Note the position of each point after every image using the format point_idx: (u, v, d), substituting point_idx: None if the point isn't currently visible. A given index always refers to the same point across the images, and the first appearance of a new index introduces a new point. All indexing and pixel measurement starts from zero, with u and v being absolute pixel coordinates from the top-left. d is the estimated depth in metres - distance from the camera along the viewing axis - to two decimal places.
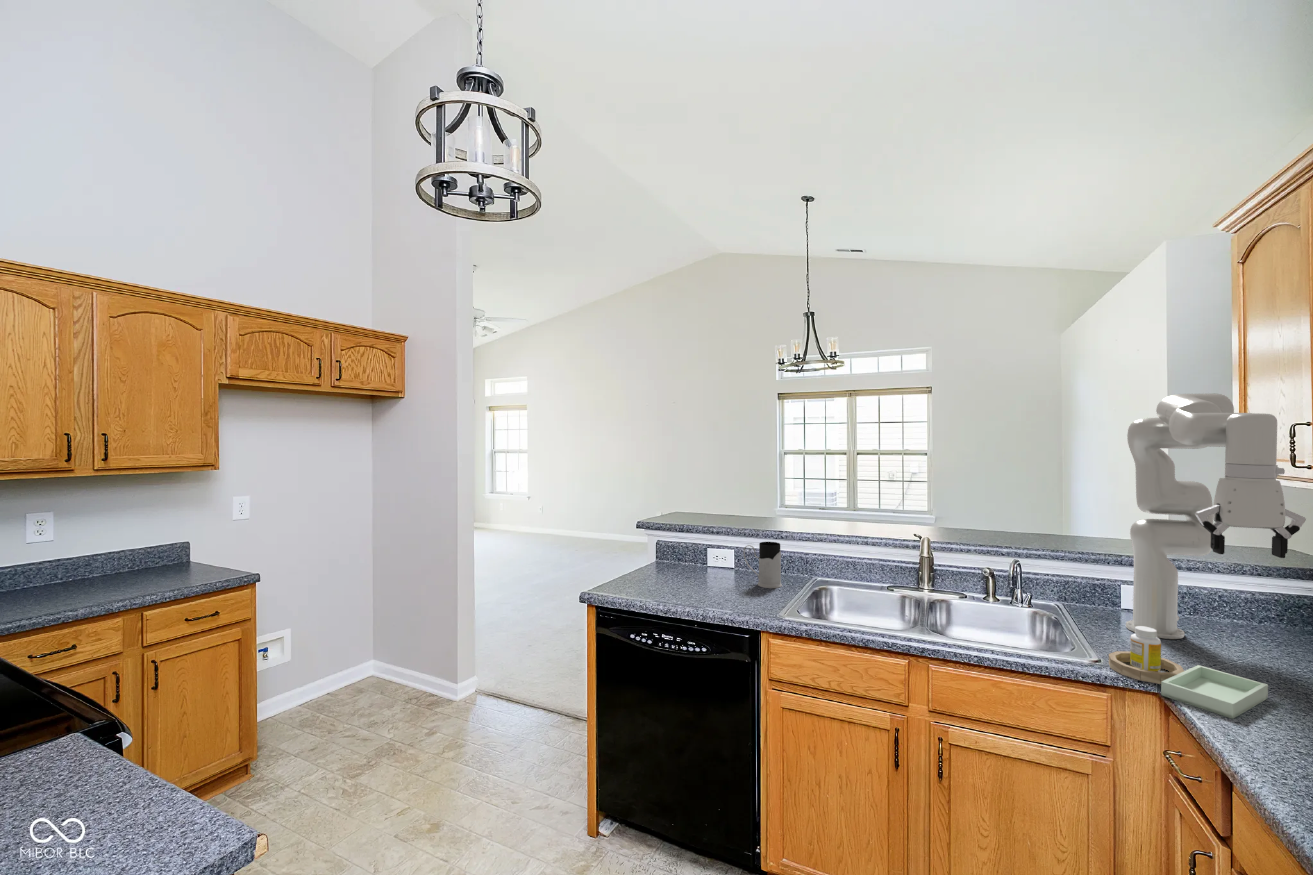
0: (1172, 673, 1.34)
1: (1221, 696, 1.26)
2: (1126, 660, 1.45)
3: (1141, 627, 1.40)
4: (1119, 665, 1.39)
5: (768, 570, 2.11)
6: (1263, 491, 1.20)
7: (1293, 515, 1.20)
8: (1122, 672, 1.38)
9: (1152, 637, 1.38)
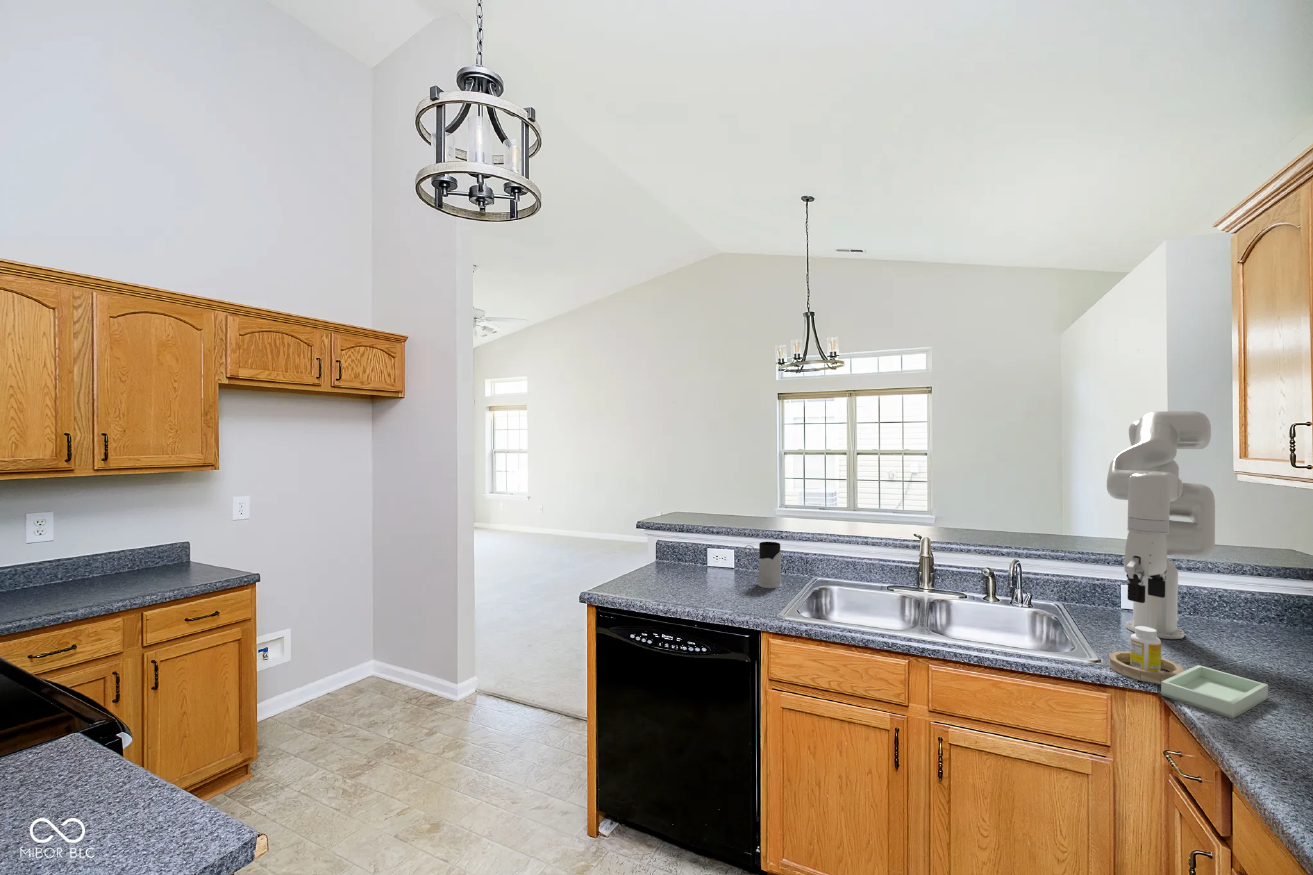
0: (1172, 673, 1.34)
1: (1221, 696, 1.26)
2: (1126, 660, 1.45)
3: (1141, 627, 1.40)
4: (1119, 665, 1.39)
5: (768, 570, 2.11)
6: (1162, 542, 1.37)
7: None
8: (1122, 672, 1.38)
9: (1152, 637, 1.38)
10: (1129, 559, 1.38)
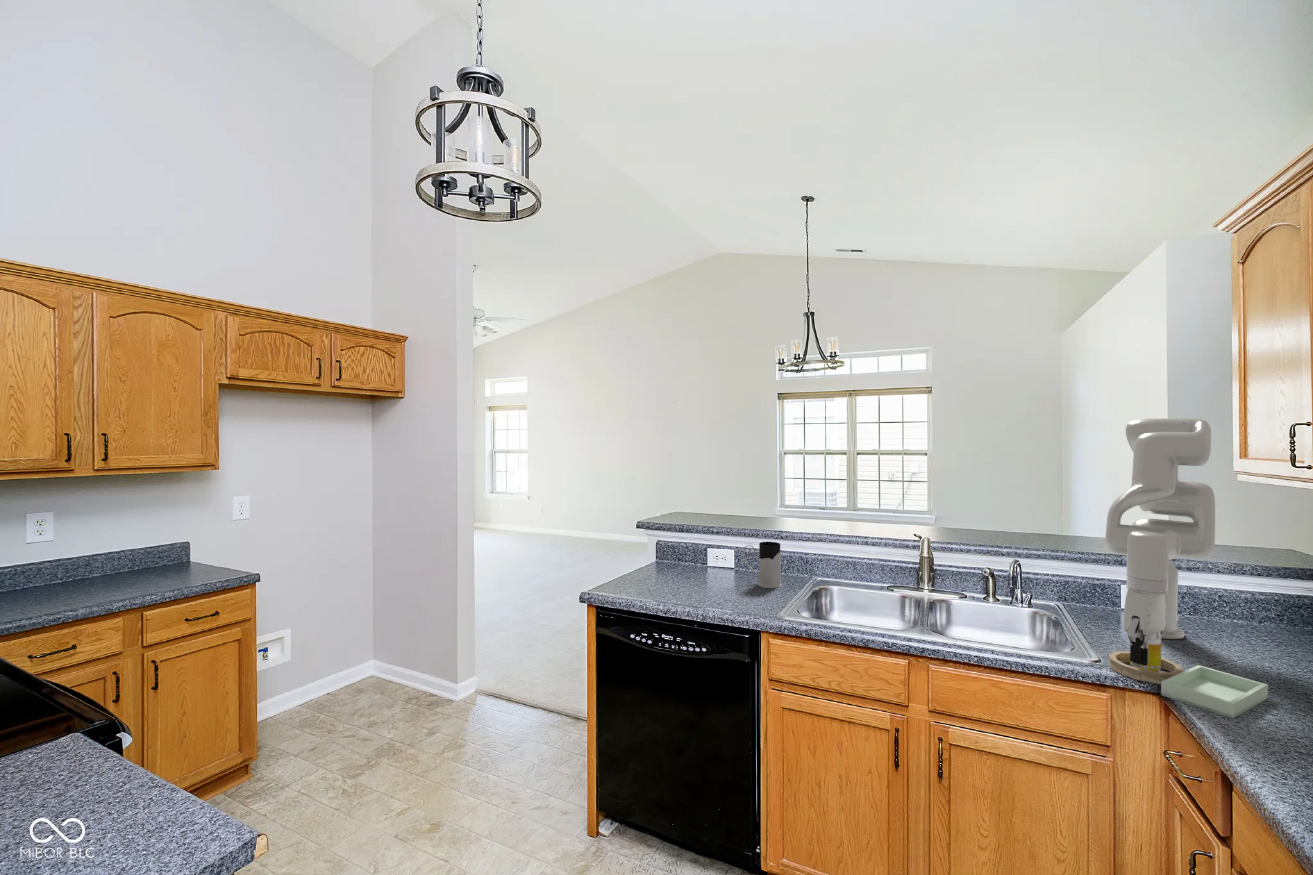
0: (1172, 673, 1.34)
1: (1221, 696, 1.26)
2: (1126, 660, 1.45)
3: None
4: (1119, 665, 1.39)
5: (768, 570, 2.11)
6: (1161, 601, 1.38)
7: None
8: (1122, 672, 1.38)
9: (1152, 637, 1.38)
10: (1128, 618, 1.38)
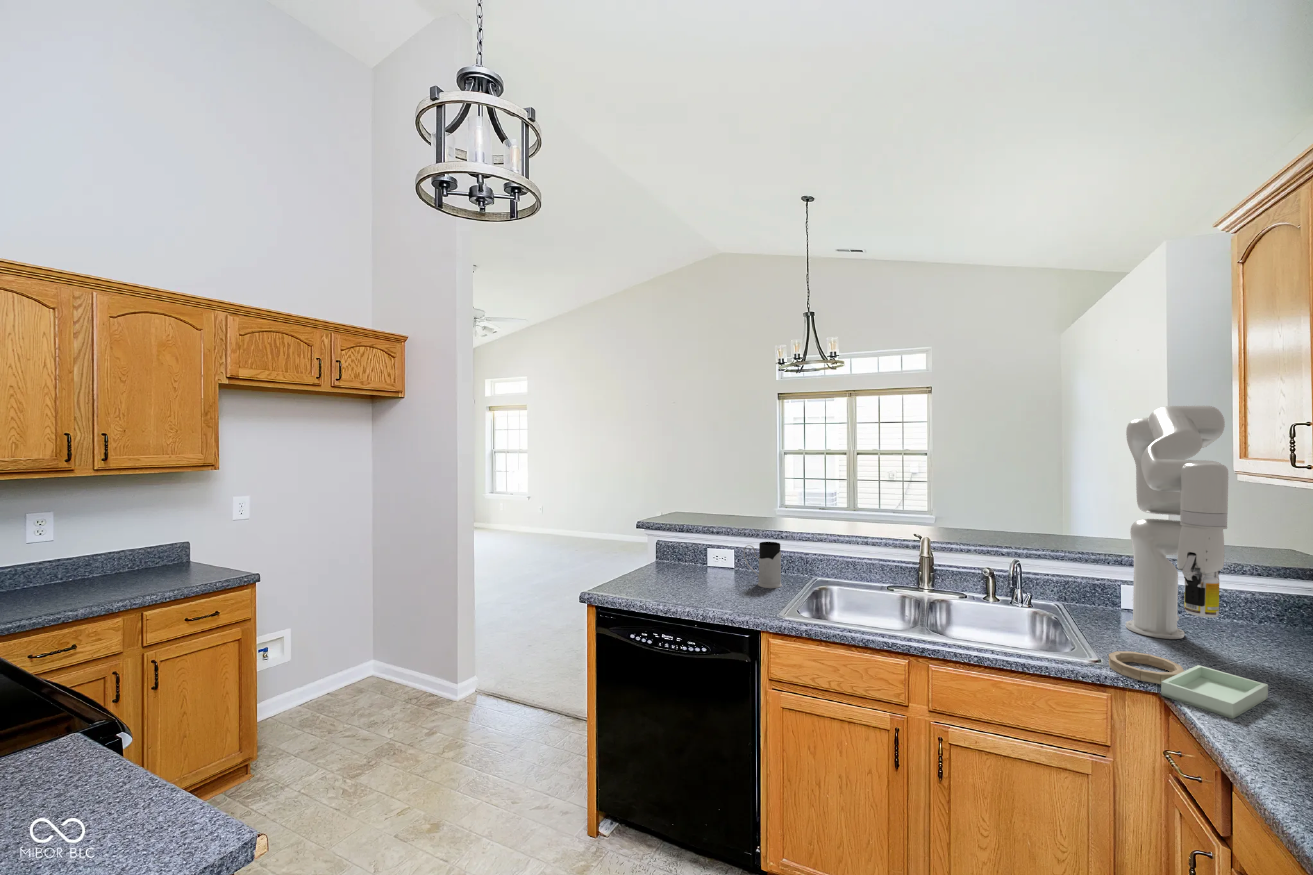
0: (1172, 673, 1.34)
1: (1221, 696, 1.26)
2: (1126, 660, 1.45)
3: None
4: (1119, 665, 1.39)
5: (768, 570, 2.11)
6: (1220, 537, 1.27)
7: None
8: (1122, 672, 1.38)
9: (1209, 576, 1.27)
10: (1183, 556, 1.28)
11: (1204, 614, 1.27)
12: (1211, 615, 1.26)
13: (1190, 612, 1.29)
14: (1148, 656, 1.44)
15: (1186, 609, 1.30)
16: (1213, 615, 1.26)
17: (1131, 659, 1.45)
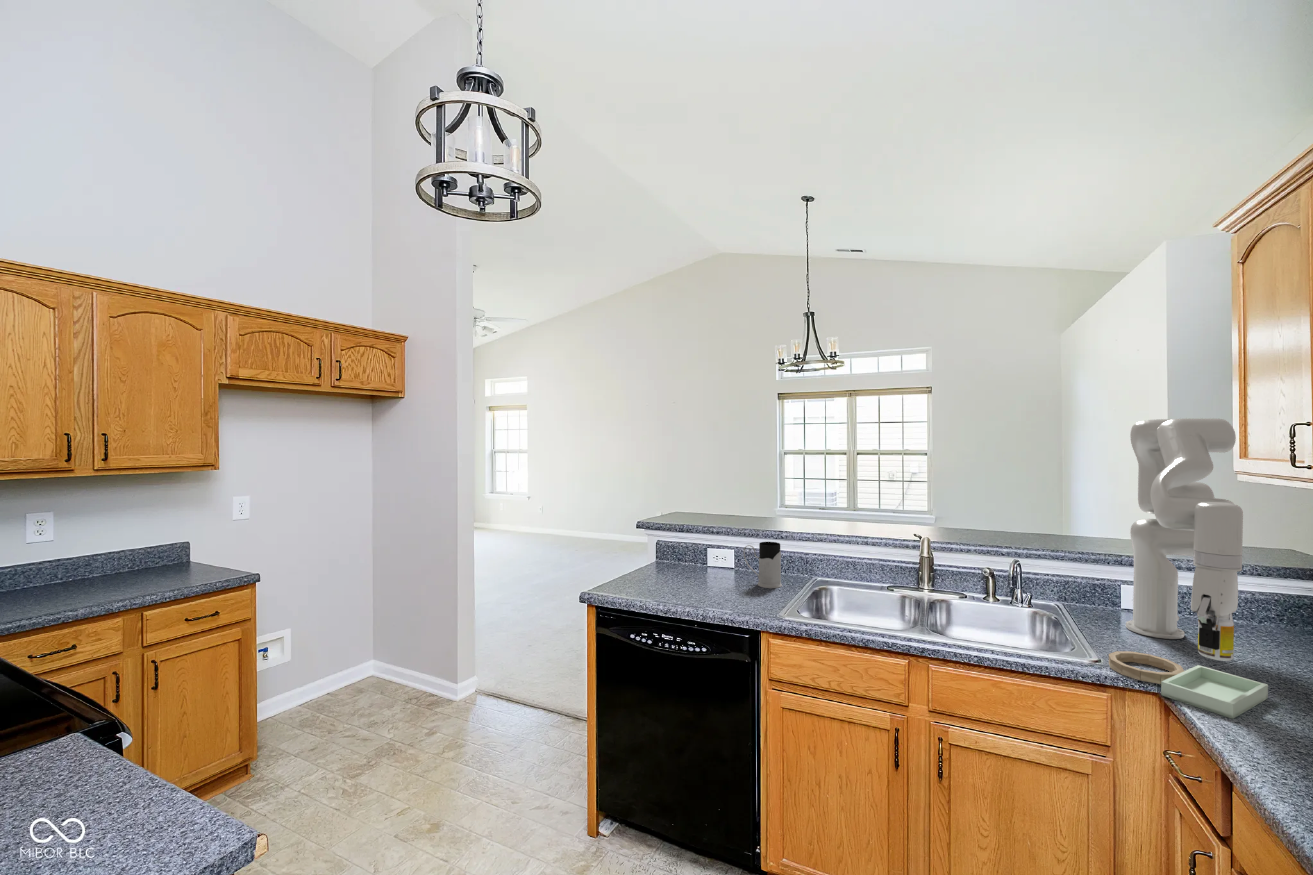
0: (1172, 673, 1.34)
1: (1221, 696, 1.26)
2: (1126, 660, 1.45)
3: None
4: (1119, 665, 1.39)
5: (768, 570, 2.11)
6: (1234, 579, 1.25)
7: None
8: (1122, 672, 1.38)
9: (1224, 618, 1.25)
10: (1197, 598, 1.25)
11: (1218, 657, 1.24)
12: (1226, 658, 1.24)
13: (1204, 655, 1.26)
14: (1148, 656, 1.44)
15: (1200, 651, 1.27)
16: (1228, 658, 1.24)
17: (1131, 659, 1.45)
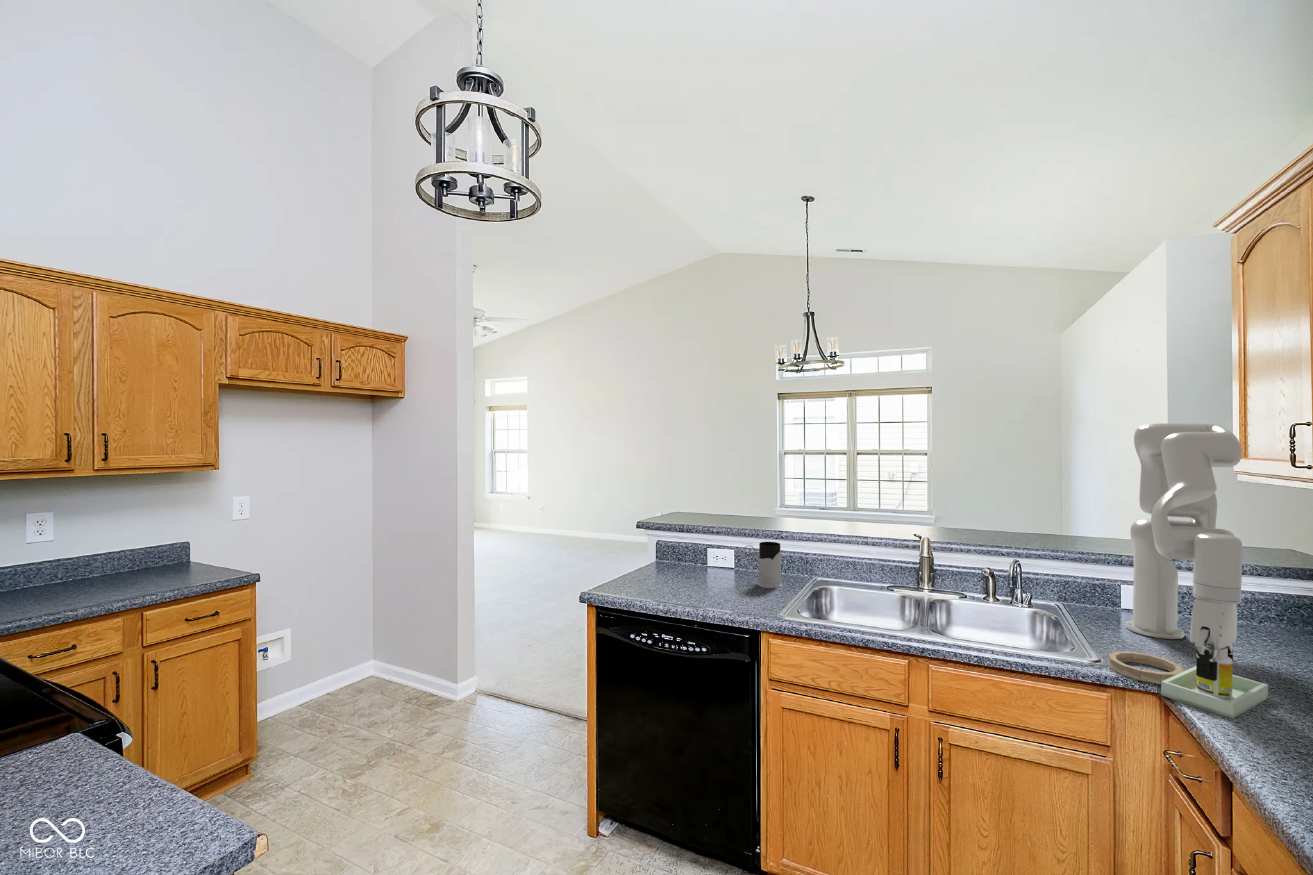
0: (1172, 673, 1.34)
1: None
2: (1126, 660, 1.45)
3: (1209, 644, 1.28)
4: (1119, 665, 1.39)
5: (768, 570, 2.11)
6: (1233, 611, 1.25)
7: None
8: (1122, 672, 1.38)
9: (1223, 656, 1.25)
10: (1196, 629, 1.25)
11: (1217, 694, 1.25)
12: (1224, 696, 1.24)
13: (1203, 692, 1.27)
14: (1148, 656, 1.44)
15: (1199, 688, 1.28)
16: (1226, 696, 1.24)
17: (1131, 659, 1.45)
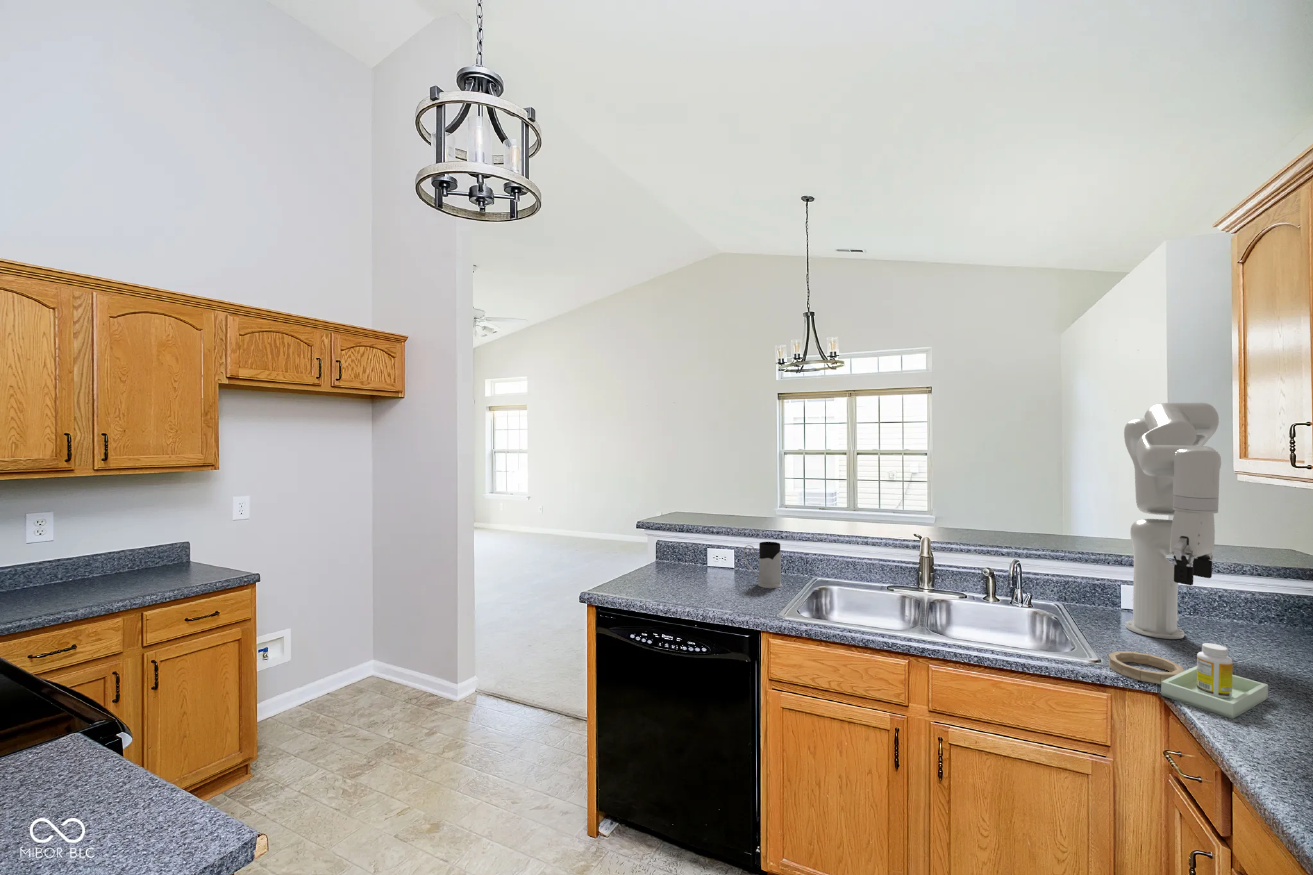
0: (1172, 673, 1.34)
1: None
2: (1126, 660, 1.45)
3: (1209, 644, 1.28)
4: (1119, 665, 1.39)
5: (768, 570, 2.11)
6: (1211, 521, 1.30)
7: None
8: (1122, 672, 1.38)
9: (1223, 656, 1.25)
10: (1176, 539, 1.31)
11: (1217, 694, 1.25)
12: (1224, 696, 1.24)
13: (1203, 692, 1.27)
14: (1148, 656, 1.44)
15: (1199, 688, 1.28)
16: (1226, 696, 1.24)
17: (1131, 659, 1.45)
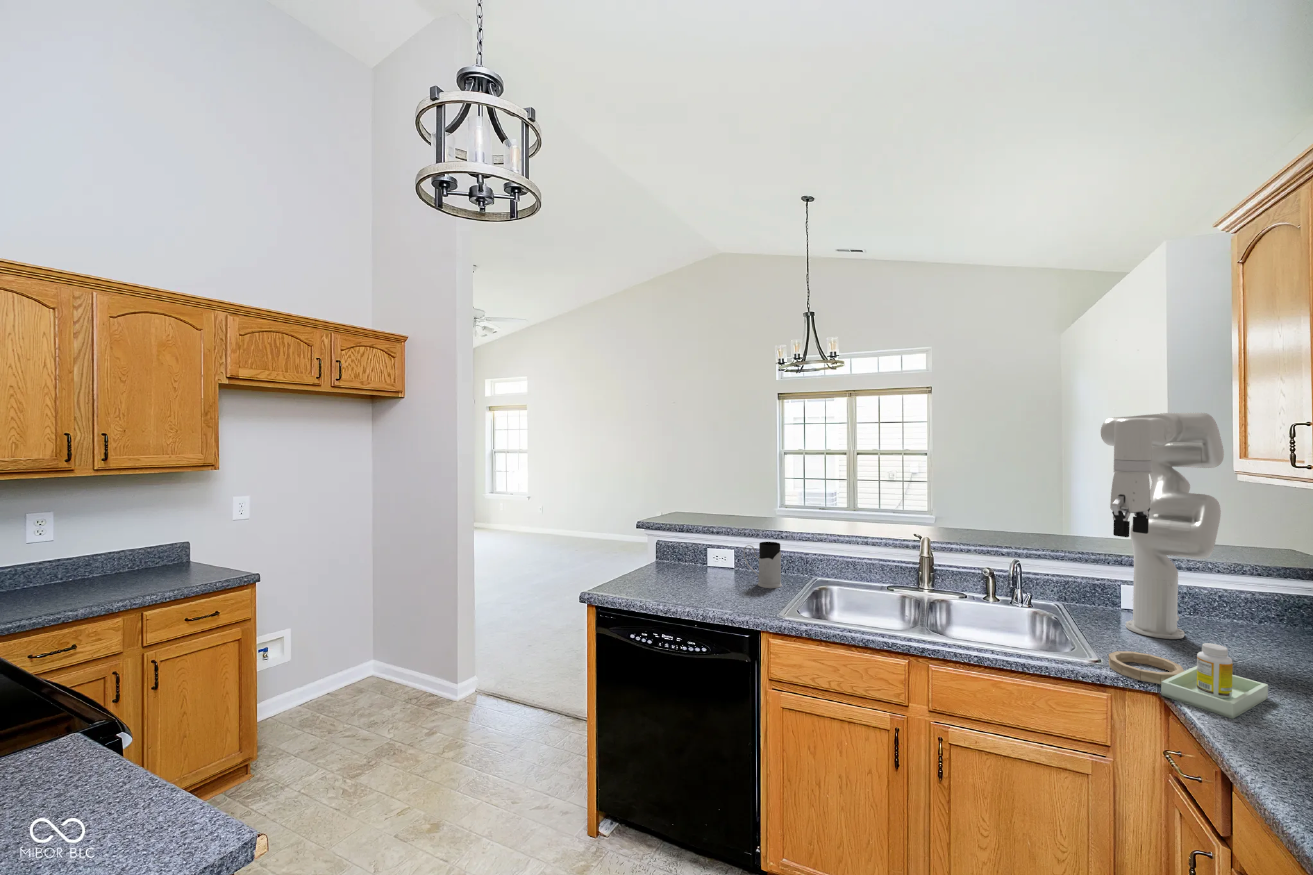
0: (1172, 673, 1.34)
1: None
2: (1126, 660, 1.45)
3: (1209, 644, 1.28)
4: (1119, 665, 1.39)
5: (768, 570, 2.11)
6: (1145, 481, 1.48)
7: None
8: (1122, 672, 1.38)
9: (1223, 656, 1.25)
10: (1115, 498, 1.49)
11: (1217, 694, 1.25)
12: (1224, 696, 1.24)
13: (1203, 692, 1.27)
14: (1148, 656, 1.44)
15: (1199, 688, 1.28)
16: (1226, 696, 1.24)
17: (1131, 659, 1.45)
